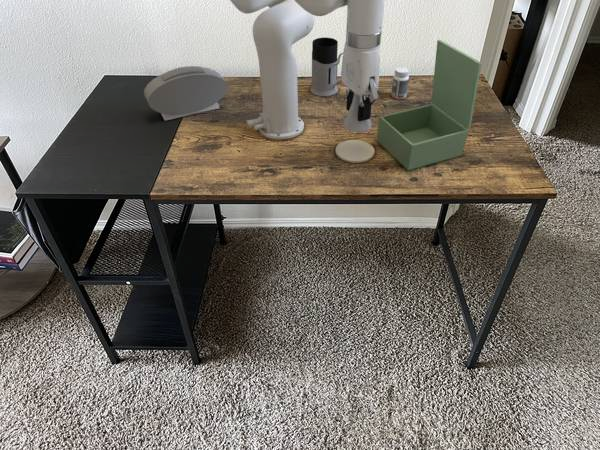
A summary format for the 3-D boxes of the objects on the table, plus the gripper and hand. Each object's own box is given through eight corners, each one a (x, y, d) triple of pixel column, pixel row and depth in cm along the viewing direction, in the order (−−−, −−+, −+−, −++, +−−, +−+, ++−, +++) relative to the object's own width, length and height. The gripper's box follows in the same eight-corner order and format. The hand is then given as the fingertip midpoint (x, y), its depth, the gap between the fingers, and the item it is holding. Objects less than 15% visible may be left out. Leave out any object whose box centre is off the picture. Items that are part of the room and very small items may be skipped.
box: (407, 170, 111) (412, 145, 106) (376, 140, 121) (379, 116, 116) (462, 155, 115) (468, 130, 110) (427, 127, 126) (432, 103, 121)
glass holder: (323, 81, 148) (323, 34, 138) (357, 94, 141) (360, 46, 131) (304, 90, 144) (304, 42, 134) (338, 104, 136) (340, 55, 126)
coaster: (346, 166, 112) (346, 164, 112) (329, 146, 119) (329, 144, 119) (381, 157, 115) (381, 155, 115) (362, 138, 122) (362, 136, 122)
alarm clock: (224, 98, 141) (218, 57, 132) (230, 106, 137) (225, 65, 128) (149, 114, 134) (138, 73, 125) (153, 124, 129) (142, 81, 121)
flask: (373, 133, 109) (377, 94, 102) (343, 133, 109) (345, 94, 103) (370, 118, 114) (374, 80, 108) (341, 118, 115) (343, 81, 108)
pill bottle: (408, 94, 141) (412, 67, 135) (404, 100, 137) (408, 74, 132) (393, 91, 142) (396, 65, 136) (389, 97, 139) (392, 71, 133)
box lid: (479, 63, 98) (481, 62, 98) (437, 40, 109) (439, 39, 109) (467, 129, 110) (470, 128, 110) (431, 102, 120) (433, 102, 121)
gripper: (330, 28, 102) (328, 102, 115) (367, 55, 91) (361, 134, 103) (359, 23, 105) (355, 96, 117) (399, 48, 93) (389, 127, 105)
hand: (358, 113), depth 110 cm, fingers closed on flask, 4 cm apart
